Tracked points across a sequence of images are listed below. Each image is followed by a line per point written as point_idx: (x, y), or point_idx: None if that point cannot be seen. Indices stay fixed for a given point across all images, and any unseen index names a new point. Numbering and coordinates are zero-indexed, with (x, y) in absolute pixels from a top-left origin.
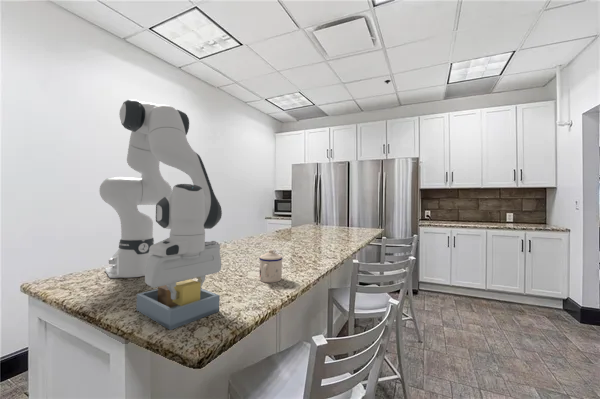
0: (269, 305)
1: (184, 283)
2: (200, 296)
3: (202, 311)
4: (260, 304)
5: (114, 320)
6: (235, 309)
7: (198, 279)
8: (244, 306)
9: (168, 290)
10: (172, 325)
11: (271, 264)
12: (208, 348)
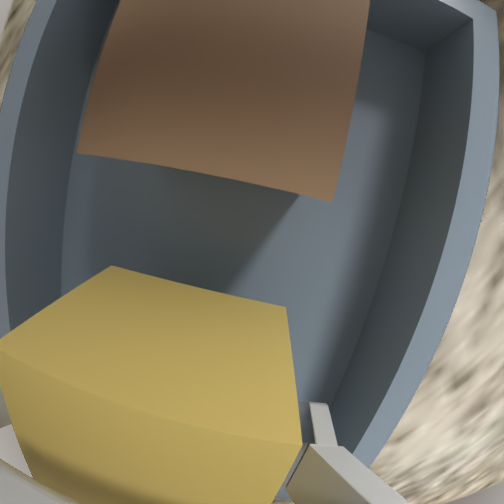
0: (435, 499)
1: (97, 477)
2: (389, 313)
3: None
4: (442, 481)
5: (9, 46)
6: (375, 461)
7: (357, 498)
8: (415, 463)
9: (98, 154)
10: None
11: None
12: None
